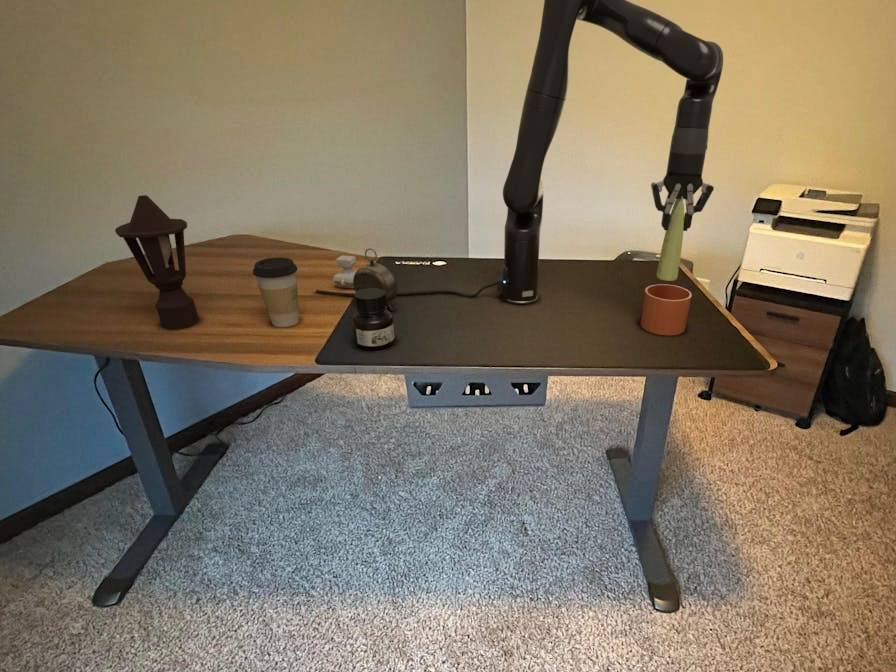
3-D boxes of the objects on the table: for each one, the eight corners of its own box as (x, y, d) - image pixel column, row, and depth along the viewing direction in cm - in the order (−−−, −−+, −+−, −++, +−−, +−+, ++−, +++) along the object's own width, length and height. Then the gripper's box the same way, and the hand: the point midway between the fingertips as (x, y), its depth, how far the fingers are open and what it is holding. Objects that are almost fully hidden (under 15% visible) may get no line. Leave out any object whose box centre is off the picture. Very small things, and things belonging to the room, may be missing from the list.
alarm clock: (399, 309, 148) (394, 248, 140) (387, 317, 143) (381, 254, 135) (365, 302, 152) (358, 242, 143) (352, 309, 147) (344, 248, 139)
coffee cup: (314, 317, 143) (304, 259, 135) (289, 332, 134) (277, 272, 127) (282, 311, 145) (270, 254, 138) (255, 326, 137) (241, 266, 130)
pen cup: (643, 334, 137) (648, 299, 133) (637, 316, 147) (642, 283, 142) (689, 336, 137) (696, 301, 132) (680, 318, 146) (686, 285, 142)
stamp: (353, 292, 157) (349, 263, 153) (331, 290, 159) (327, 261, 154) (368, 282, 165) (364, 253, 161) (347, 279, 166) (343, 251, 162)
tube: (683, 279, 135) (698, 195, 125) (668, 283, 133) (683, 198, 123) (666, 273, 139) (679, 190, 129) (651, 276, 137) (663, 193, 127)
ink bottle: (357, 354, 126) (350, 303, 120) (350, 338, 133) (343, 289, 127) (400, 347, 129) (396, 297, 123) (391, 331, 136) (387, 284, 130)
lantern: (181, 339, 130) (141, 206, 115) (130, 330, 134) (85, 200, 119) (227, 315, 143) (196, 192, 128) (179, 307, 146) (143, 187, 131)
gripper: (717, 148, 124) (702, 226, 133) (652, 146, 125) (641, 224, 134) (726, 153, 118) (710, 235, 126) (657, 151, 118) (646, 233, 127)
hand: (675, 229), depth 130 cm, fingers closed on tube, 3 cm apart
